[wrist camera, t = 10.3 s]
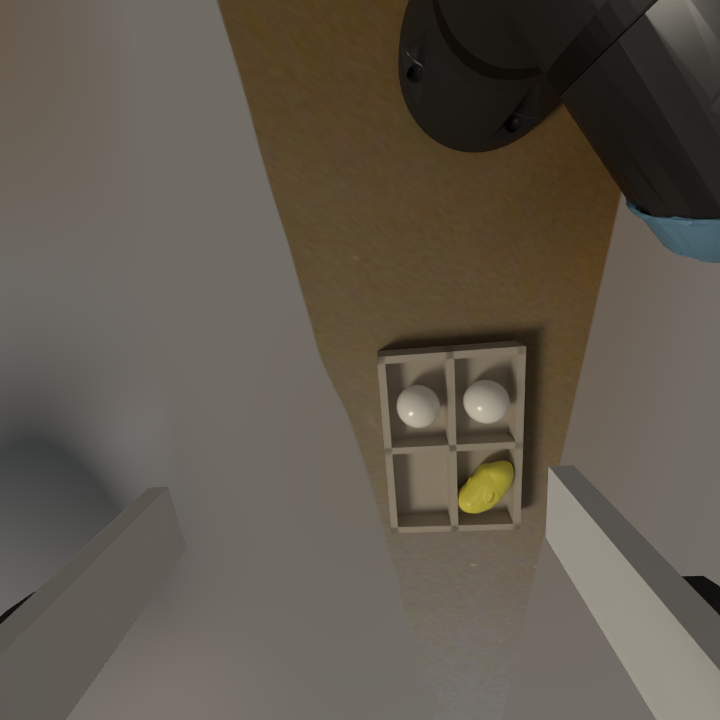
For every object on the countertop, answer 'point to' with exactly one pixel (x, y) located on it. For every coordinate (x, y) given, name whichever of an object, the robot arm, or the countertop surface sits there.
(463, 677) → the countertop surface
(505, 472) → the yellow oval piece
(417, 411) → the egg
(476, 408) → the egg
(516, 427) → the divided tray
